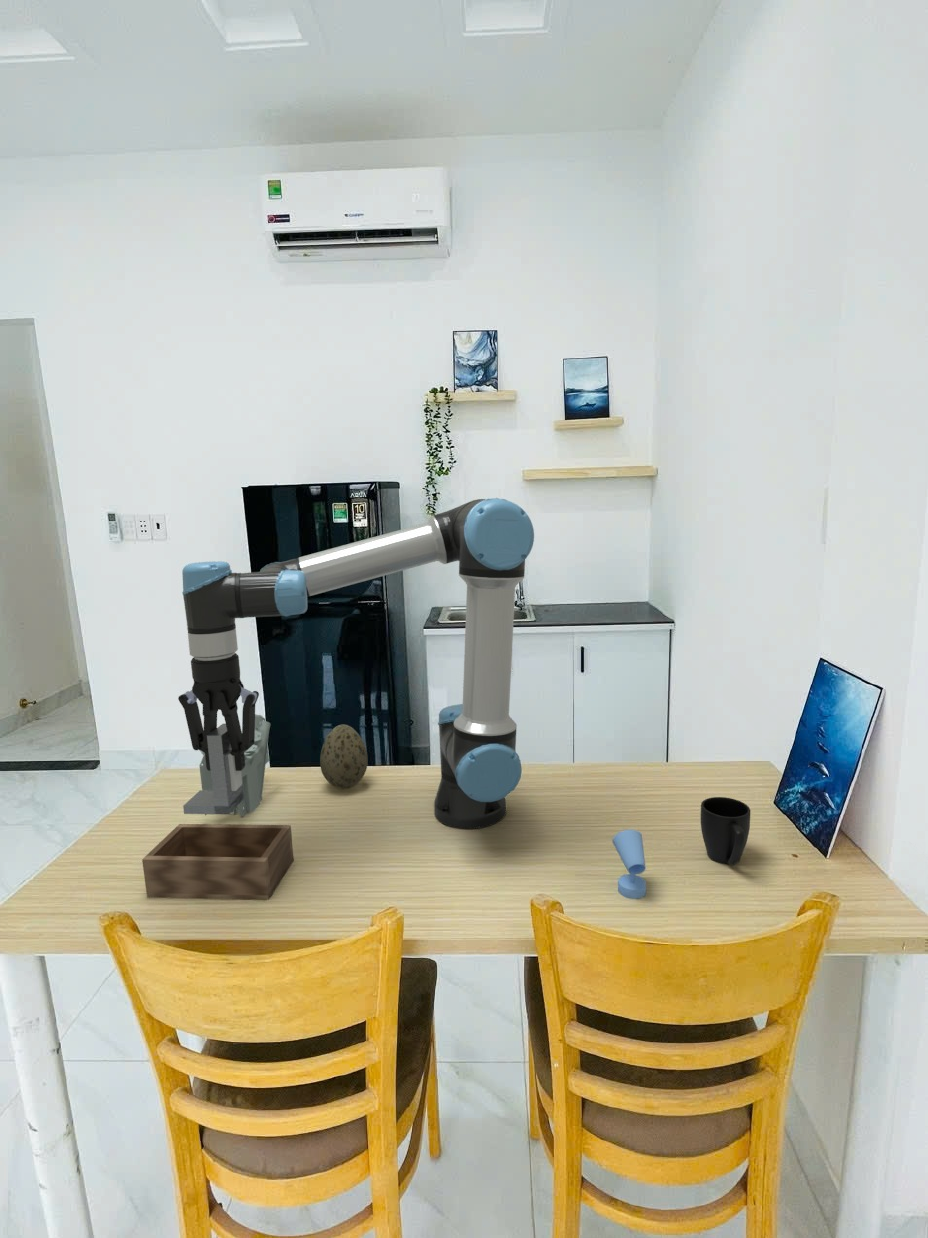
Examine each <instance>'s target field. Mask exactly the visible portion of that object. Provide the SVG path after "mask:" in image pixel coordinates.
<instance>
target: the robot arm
mask: <svg viewBox="0 0 928 1238" xmlns="http://www.w3.org/2000/svg"><path fill="white" fill-rule="evenodd" d="M534 542H535V530H534V526H533V523H532V520H531V518H530V516H529V514H528V513H527V512H526V511H525V510H524V509H523V508H522V507H521V506H519V505H518V504H516V503H514V502H512V501H510V500H507V499H504V498H498V497H496V498H481V499H480V498H479V499H473V500H471V501H468V502H466V503H464V504H461V505H459V506H457V507H454V508H451V509H448V510H447V511H443V512H440V513H437V514H433V515H430V517H429V518H428V520H427V522H424V523H421V524H418V525H414V526H409V527H407V528H406V527H405V528H403V529H399V530H394V531H391V532H387V533H383V534H380V535H377V536H373V537H369V538H366V539H362V540H357V541H355V542H350V543H348V544H343V545H340V546H339V545H338V546H336V547H333V548H328V549H325V550H321V551H318V552H314V553H311V554H307V555H303V556H300V557H297V558H293V559H289V560H286V561H281V562H280V561H279V562H278V561H275V562H271V563H269V564H266V565H265V566H263V567H262V568H261V569H260V571H252V572H243V573H242V572H233V571H232V569H231V566H230V565H231V564H230V563H229V562H228V561H221V560H220V561H214V560H213V561H201V562H200V561H199V562H191V563H188V564H186V565H185V566H184V567H183V568H182V596H183V603H184V611H185V617H186V619H185V620H186V629H187V638H188V648H189V650H188V651H189V655H190V656H191V657H192V658H191V660H190V665H191V673H192V674H191V676H192V679H193V685H192V687H191V690H190V691H185V692H184V693H182V694H181V695H178V699H177V700H178V701H179V703H180V704H181V706H182V708H183V710H184V711H183V712H184V715H185V716H184V717H185V720H186V723H187V729H188V733H189V737H190V741H191V746H192V749H193V750H194V751H200V750H201V751H203V752H204V753H205V759H206V768H207V770H208V771H210V761H209V752H208V742H207V735H208V734H210V733H211V732H212V731H214V730H215V729H216V728H218V711H219V710H220V711H221V715H222V717H224V722H225V723H224V724H226V727H227V731H228V736H229V740H230V744H231V749H232V752H231V753H230V754H228V759H229V769H230V779H231V789H232V791H236V790H237V789H238V788H239V787H240V786H241V785H242V775H241V770H242V769H243V768H244V767H245V756H244V750H248V749H249V748H250V747H251V746H252V745H253V744H254V742H255V714H256V704H257V701H258V698H259V696H260V693H259V691H257V690H254V691H251V690H248V689H247V688H245V685H244V684H243V682H242V681H241V667H240V659H239V658H240V657H239V655H238V653H237V651H238V649H239V647H238V638H237V637H238V636H237V629H236V626H237V625H236V619H245V618H246V619H247V618H263V617H264V618H265V617H266V618H267V617H280V616H281V617H283V616H284V617H290V616H294V615H301V614H305V613H306V612H307V610H308V597H311V596H315V595H319V594H322V593H326V592H329V591H334V590H337V589H341V588H343V587H347V586H351V585H356V584H358V583H362V582H366V581H370V580H373V579H376V578H377V579H378V578H380V577H384V576H387V575H391V574H394V573H399V572H402V571H405V570H409V569H412V568H416V567H417V568H418V567H420V566H423V565H426V564H427V565H428V564H431V563H435V562H439V563H441V564H443V565H448V564H450V563H454V562H458V563H459V564H458V576H459V577H460V578H461V579H462V580H463V581H464V582H465V584H466V605H465V609H466V610H465V630H464V631H465V632H464V658H463V659H464V661H463V665H464V666H463V683H462V685H463V686H462V689H463V690H462V703H459V704H454V705H449V706H446V707H444V708H442V709H441V710H440V711H439V713H438V722H437V725H438V728H439V729H438V730H439V731H438V732H439V733H438V734H439V751H440V752H439V755H440V757H439V758H440V780H439V781H440V782H439V785H438V789H437V793H436V795H435V798H434V803H433V805H434V806H433V808H434V809H433V811H434V812H433V813H434V817H435V818H436V820H437V821H438V822H439V823H442V824H444V825H446V826H449V827H452V828H457V829H463V830H464V829H467V830H468V829H479V828H485V827H486V828H487V827H489V826H492V825H494V824H497V823H498V822H500V821H502V820H503V819H504V818H505V816H506V814H507V800H506V797H507V796H509V794H510V793H512V792H513V791H514V790H515V789H516V788H517V786H518V784H519V782H520V780H521V778H522V773H523V772H522V771H523V767H522V763H521V762H522V761H521V759H520V756H519V754H518V753H517V751H516V746H517V745H516V744H517V726H518V725H517V723H516V722H515V721H514V719H513V718H512V717H511V716H510V703H511V702H510V699H511V679H512V657H513V642H514V641H513V639H514V638H513V637H514V620H515V619H514V617H515V600H516V598H515V597H516V596H515V595H516V586H517V585H518V584H519V583H520V582H521V581H522V580H523V579H525V569H526V568H525V567H526V559H527V558H528V557H529V556H530V553H531V551H532V549H533V547H534ZM240 696H241V703H242V704H243V705H242V718H241V720H242V723H240V718H239V714H238V703H237V701H238V700H239V698H240ZM197 700H198V701H199V702H200V704H202V716H203V721H202V718H201V713H200V708H199V705H198V701H197ZM241 724H242V726H241Z"/></svg>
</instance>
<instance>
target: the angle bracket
mask: <svg viewBox="0 0 928 1238" xmlns="http://www.w3.org/2000/svg"><path fill="white" fill-rule="evenodd" d="M207 742H208V752H209V761H210V771H211V780H212V790H213V791H210V790H202V789H201V790H199V791H198V792H197V793H196V794H194V795H193V796H192V797H191V798H190V799H189V800H188V801H187V802H185V803H184V804H183V806H182V807H183V814H184V815H205V814H207V815H231V813H233V812H232V811H233V810H234V809H235V808H236V807H237V806H238V805H239V804H240V802H241V801H242V800H243V799H244V794H243V783H242V785H241V786H240V787H239V788H238V789H237V790H236V791H232V789H231V779H230V769H229V759H228V754H230V753H231V752H232V749H231V744H230V740H229V736H228V731H227V727H226V723H222V724H220V725H219V726H217V728H216V729H215V730H214V731H212V732H211V733H210V734H208V735H207ZM241 775H242V773H241Z"/></svg>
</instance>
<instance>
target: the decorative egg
mask: <svg viewBox="0 0 928 1238" xmlns="http://www.w3.org/2000/svg"><path fill="white" fill-rule="evenodd" d="M319 755H320V756H319V757H320V758H319V764H320V765H319V766H320V770H321V773H322V775H323V777H324V779H325V780H326V782H328V783H329V784H330V785H331V786H333V787H334V788H337V789H342V790H344V789H350V788H352V787H354V786H356V785H357V784H358V783H359V782H360V781H361V780H362V779H363V777H364V775H365V774H366V772H367V769H368V768H367V767H368V761H369V760H368V751H367V747H366V746H365V741H364V740H363V739H362V737H361V736H360V734H359V733H358V732H357V730H356V729H354V727H352V726H351V725H348V724H343V723H342V724H339V725H337V726H335V727H334V728H332V729H331V731H330V732H329V733H328V734H327V736H326V738H325V740H324V741H323V744H322V747H321V751H320V754H319Z"/></svg>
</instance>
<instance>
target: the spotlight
mask: <svg viewBox="0 0 928 1238" xmlns="http://www.w3.org/2000/svg"><path fill="white" fill-rule="evenodd" d="M612 843H613V846H614V848H615V850H616V851H617V853H618V856H619V857H620V859H621V861H622V863H623V865H624V867H625V868H626V870H627V873H628V874H622V875H621V876H620V877H619V878H618V879H617V892H618V893H619V894H620V895H621V896H622V897H624V898H626V899H630V900H631V899H632V900H638V899H641V898H643V897H645V896H646V894H647V883H646V880H645V879H644V878H643V877H641V876H640V874H643V873H644V872H645V871H646V869H647V868H646V858H645V852H644V843H643V836H642V833H641V832H640V831H639V830H636V829H625V830H622V831H620V832H618V833H616V834H615V835H614V836H613V838H612Z"/></svg>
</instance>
